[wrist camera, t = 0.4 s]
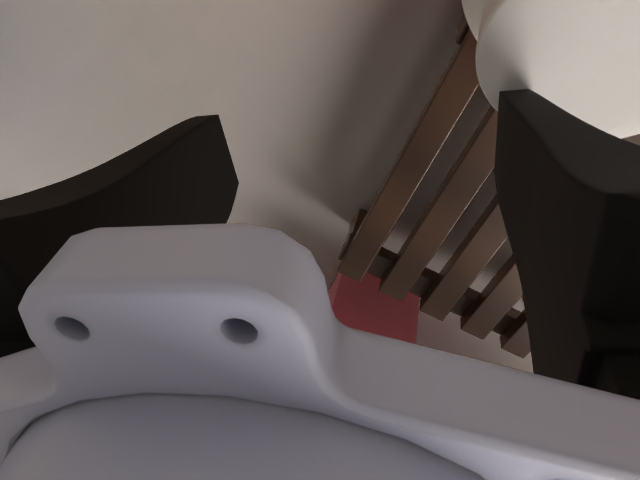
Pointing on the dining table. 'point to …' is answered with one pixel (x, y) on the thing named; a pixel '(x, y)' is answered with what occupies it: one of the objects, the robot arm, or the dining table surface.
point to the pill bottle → (563, 56)
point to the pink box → (373, 308)
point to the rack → (444, 218)
